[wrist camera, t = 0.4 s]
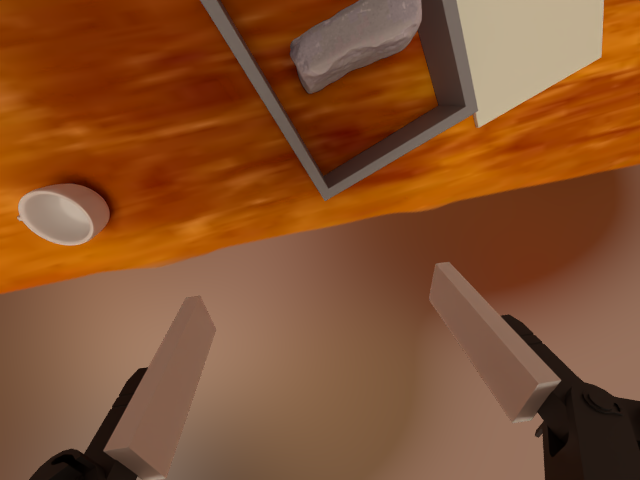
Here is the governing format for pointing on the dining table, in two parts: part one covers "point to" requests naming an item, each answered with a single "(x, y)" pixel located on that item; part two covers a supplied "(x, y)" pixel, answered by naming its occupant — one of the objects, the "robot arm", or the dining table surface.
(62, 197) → the teacup
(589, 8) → the board
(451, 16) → the access frame
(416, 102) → the dining table surface
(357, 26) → the stone block
